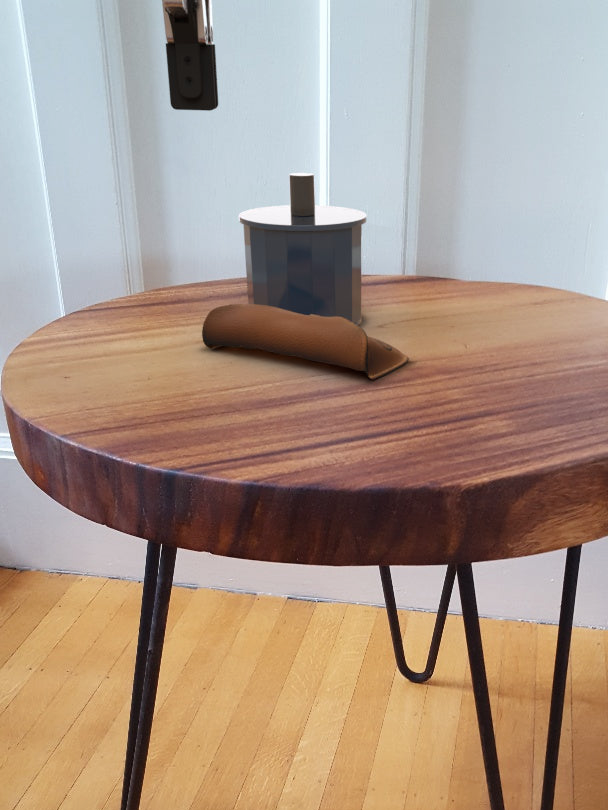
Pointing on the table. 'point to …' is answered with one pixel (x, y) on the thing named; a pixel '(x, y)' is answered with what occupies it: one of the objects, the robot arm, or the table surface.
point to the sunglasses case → (300, 337)
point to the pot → (306, 271)
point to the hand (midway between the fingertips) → (195, 108)
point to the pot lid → (302, 211)
